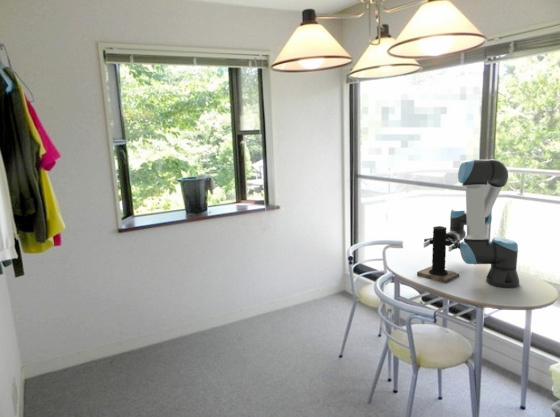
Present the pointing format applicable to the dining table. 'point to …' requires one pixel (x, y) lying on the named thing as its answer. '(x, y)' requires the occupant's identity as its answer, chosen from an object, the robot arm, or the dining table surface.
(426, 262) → the dining table surface
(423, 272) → the walnut plate
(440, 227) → the handle grip
